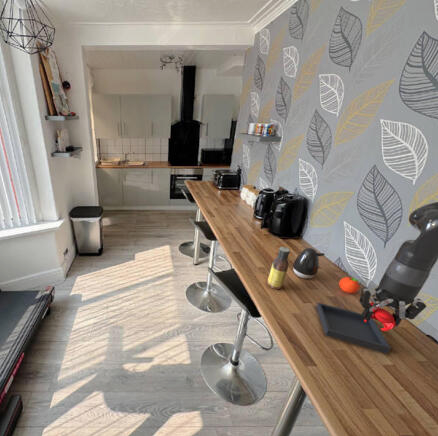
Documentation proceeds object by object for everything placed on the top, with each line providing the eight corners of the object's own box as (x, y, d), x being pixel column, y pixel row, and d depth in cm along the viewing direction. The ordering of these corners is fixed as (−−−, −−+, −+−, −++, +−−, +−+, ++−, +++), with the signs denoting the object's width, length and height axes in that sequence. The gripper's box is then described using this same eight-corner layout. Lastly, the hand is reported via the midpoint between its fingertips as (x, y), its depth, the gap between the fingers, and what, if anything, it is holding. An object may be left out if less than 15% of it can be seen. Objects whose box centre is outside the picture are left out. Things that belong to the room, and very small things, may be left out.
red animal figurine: (358, 312, 76) (365, 298, 74) (381, 318, 74) (390, 304, 72) (368, 331, 70) (377, 316, 67) (394, 338, 68) (404, 323, 65)
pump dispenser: (315, 284, 110) (326, 257, 104) (290, 276, 115) (299, 250, 109) (314, 273, 118) (324, 247, 112) (291, 266, 123) (299, 241, 117)
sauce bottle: (273, 280, 112) (285, 244, 104) (284, 288, 107) (297, 251, 99) (263, 283, 110) (274, 246, 102) (274, 291, 104) (286, 253, 96)
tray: (368, 321, 91) (371, 316, 90) (387, 353, 78) (391, 348, 77) (316, 307, 97) (318, 302, 96) (325, 335, 84) (328, 330, 83)
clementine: (351, 287, 109) (357, 274, 106) (362, 297, 103) (369, 284, 100) (333, 285, 110) (338, 273, 107) (343, 295, 104) (349, 282, 101)
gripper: (378, 278, 64) (354, 323, 70) (449, 292, 59) (416, 339, 66) (366, 263, 70) (345, 306, 77) (429, 275, 65) (401, 319, 72)
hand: (378, 321), depth 71 cm, fingers closed on red animal figurine, 5 cm apart
